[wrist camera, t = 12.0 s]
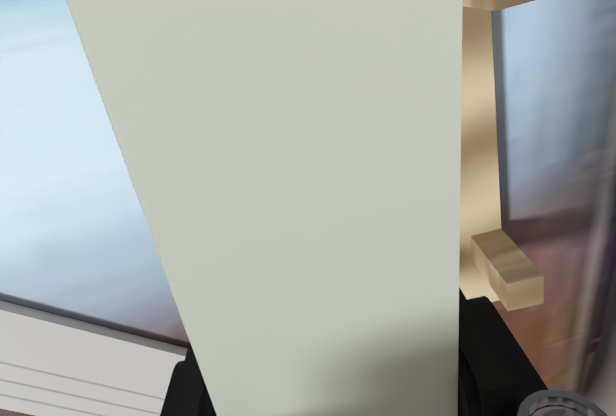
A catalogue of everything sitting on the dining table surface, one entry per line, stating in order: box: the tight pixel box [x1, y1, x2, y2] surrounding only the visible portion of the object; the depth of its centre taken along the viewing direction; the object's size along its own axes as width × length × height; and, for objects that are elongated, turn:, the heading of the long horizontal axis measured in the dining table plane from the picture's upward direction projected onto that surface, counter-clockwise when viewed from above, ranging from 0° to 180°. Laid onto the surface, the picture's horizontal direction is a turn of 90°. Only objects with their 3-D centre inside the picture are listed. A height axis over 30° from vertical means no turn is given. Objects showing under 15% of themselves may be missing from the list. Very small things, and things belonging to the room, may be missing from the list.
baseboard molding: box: [0, 300, 188, 416], centre depth 32 cm, size 31×3×12 cm
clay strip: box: [66, 0, 463, 416], centre depth 9 cm, size 20×4×4 cm, turn 8°
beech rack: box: [459, 0, 544, 311], centre depth 23 cm, size 26×10×6 cm, turn 14°
